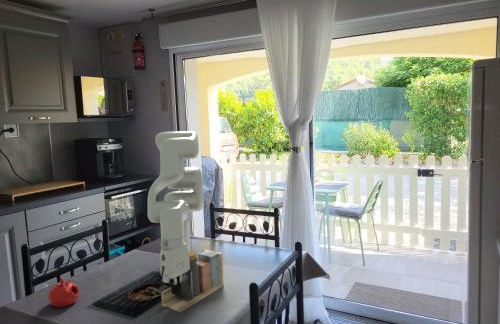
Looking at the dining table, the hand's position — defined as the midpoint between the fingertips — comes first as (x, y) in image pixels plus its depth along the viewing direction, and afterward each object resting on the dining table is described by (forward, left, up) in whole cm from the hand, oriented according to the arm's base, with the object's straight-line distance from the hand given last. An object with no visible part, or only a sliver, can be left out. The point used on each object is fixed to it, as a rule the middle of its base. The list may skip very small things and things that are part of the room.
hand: (176, 293), depth 130 cm
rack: (0, +9, -4) cm, 10 cm away
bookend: (0, +4, -3) cm, 5 cm away
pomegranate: (-36, -19, -4) cm, 41 cm away
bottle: (0, +8, -4) cm, 9 cm away
